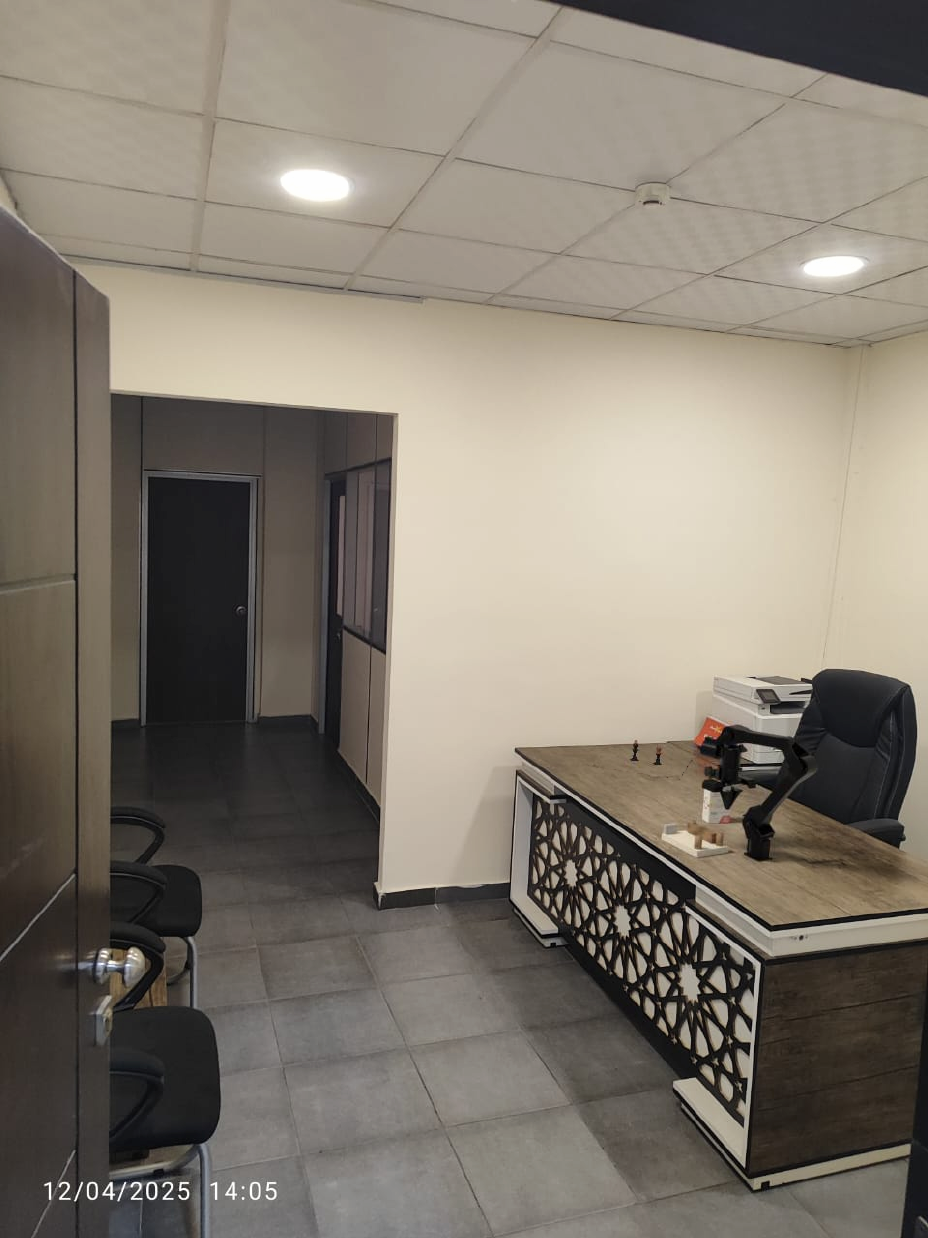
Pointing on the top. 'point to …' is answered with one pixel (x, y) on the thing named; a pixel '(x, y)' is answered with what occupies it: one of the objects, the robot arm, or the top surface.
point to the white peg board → (693, 842)
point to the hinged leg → (701, 832)
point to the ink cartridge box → (714, 808)
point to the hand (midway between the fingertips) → (726, 809)
